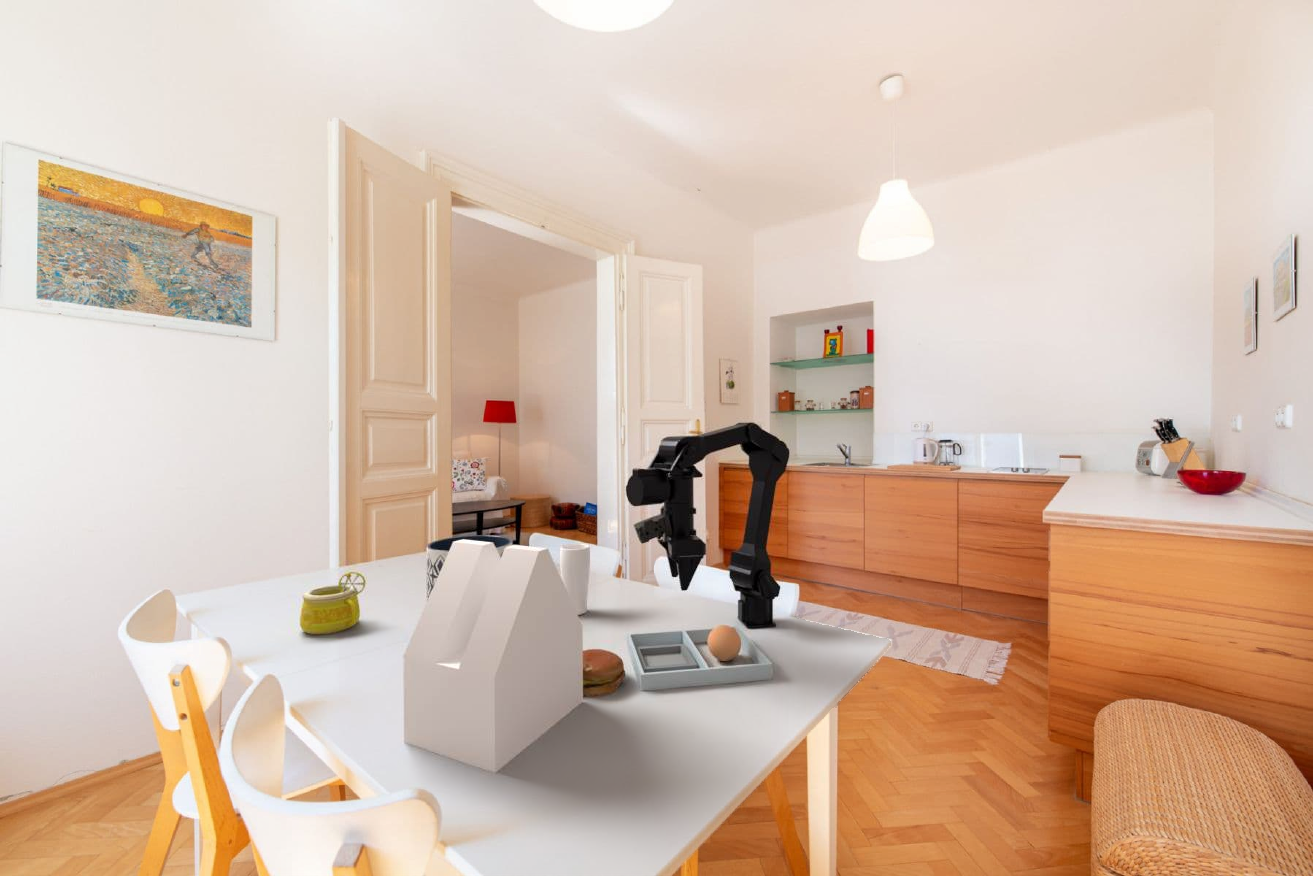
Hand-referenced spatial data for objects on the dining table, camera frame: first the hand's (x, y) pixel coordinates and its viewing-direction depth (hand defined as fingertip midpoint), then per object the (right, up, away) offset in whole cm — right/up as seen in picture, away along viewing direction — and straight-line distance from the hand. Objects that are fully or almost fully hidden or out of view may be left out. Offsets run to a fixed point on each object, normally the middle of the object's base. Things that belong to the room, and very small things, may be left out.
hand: (679, 583), depth 104 cm
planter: (-46, -12, +17) cm, 50 cm away
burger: (-14, -12, -16) cm, 25 cm away
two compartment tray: (+2, -12, -8) cm, 14 cm away
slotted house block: (-27, -13, -27) cm, 40 cm away
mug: (-72, -12, +9) cm, 73 cm away
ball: (+8, -12, -7) cm, 16 cm away
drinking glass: (-23, -12, +19) cm, 32 cm away
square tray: (-3, -12, -9) cm, 15 cm away
